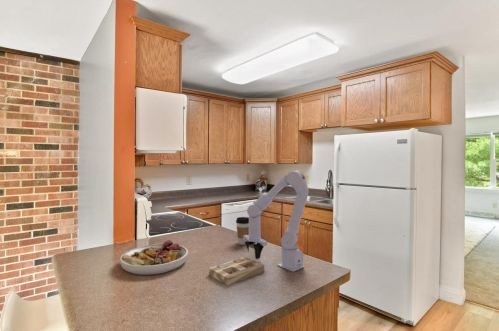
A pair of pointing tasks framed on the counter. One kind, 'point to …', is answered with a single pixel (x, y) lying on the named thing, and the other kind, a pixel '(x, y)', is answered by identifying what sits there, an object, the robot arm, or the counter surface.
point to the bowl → (154, 258)
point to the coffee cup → (242, 229)
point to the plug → (253, 253)
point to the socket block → (236, 270)
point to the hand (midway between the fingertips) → (254, 257)
